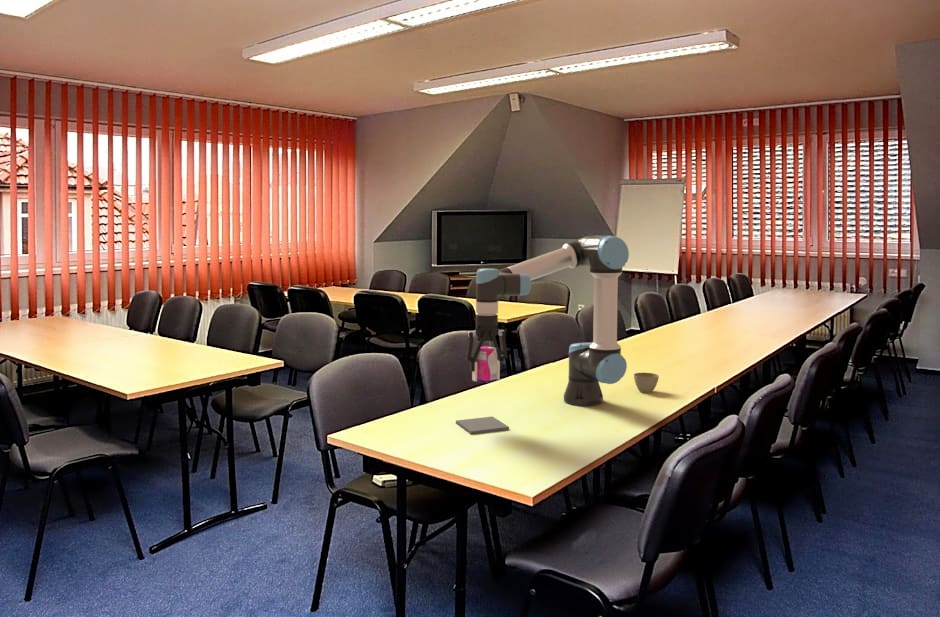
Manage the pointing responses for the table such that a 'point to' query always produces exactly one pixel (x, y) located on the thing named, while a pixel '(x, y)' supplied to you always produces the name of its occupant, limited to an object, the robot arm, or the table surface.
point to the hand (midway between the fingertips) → (485, 379)
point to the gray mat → (482, 425)
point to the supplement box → (487, 364)
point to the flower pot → (646, 382)
